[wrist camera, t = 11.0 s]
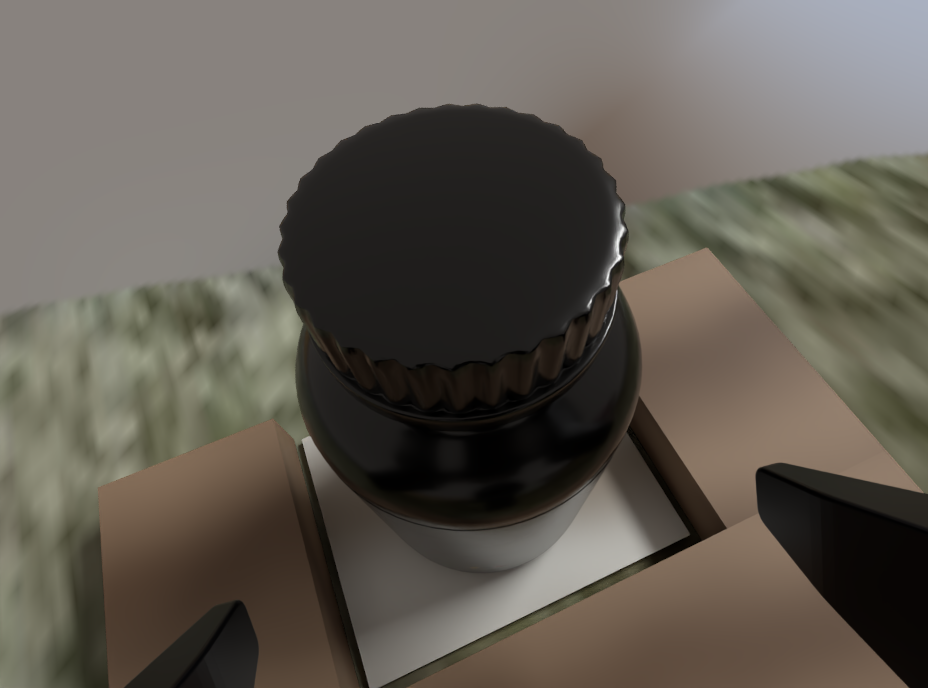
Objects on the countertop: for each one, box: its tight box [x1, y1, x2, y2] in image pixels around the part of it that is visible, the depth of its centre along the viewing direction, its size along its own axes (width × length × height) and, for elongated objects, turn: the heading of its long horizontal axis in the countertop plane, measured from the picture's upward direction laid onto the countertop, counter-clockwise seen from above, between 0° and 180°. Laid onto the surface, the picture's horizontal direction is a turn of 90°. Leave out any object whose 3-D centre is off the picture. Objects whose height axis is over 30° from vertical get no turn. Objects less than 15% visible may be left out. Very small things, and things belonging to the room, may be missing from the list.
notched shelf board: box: [98, 248, 923, 688], centre depth 15 cm, size 14×22×2 cm, turn 113°
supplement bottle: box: [278, 104, 642, 573], centre depth 12 cm, size 7×7×12 cm
